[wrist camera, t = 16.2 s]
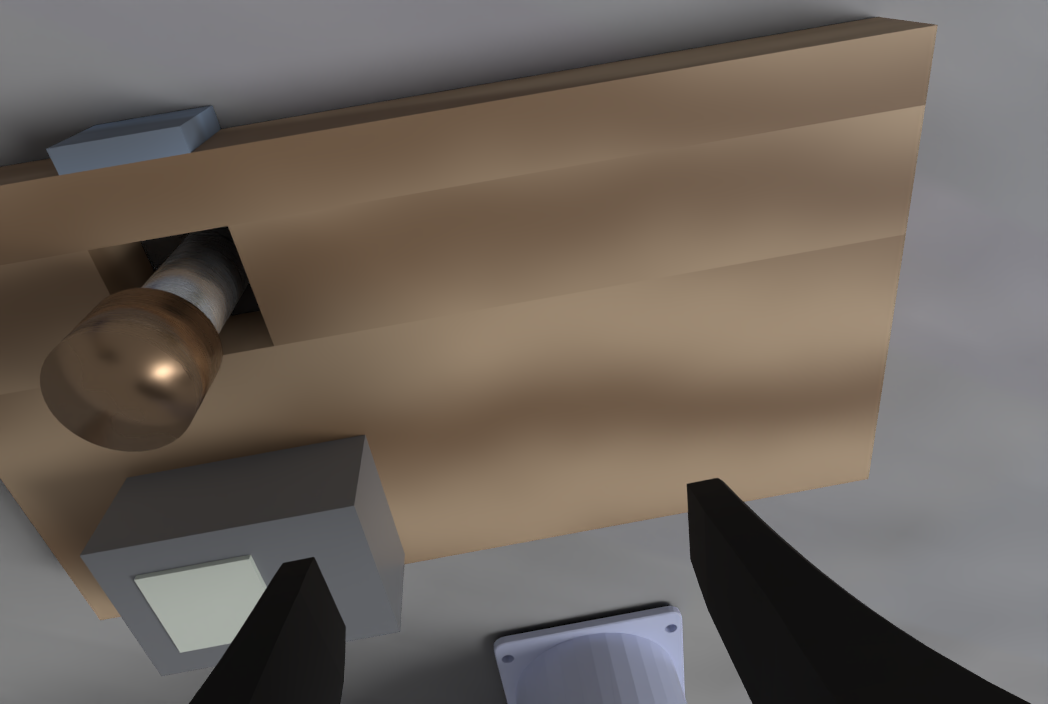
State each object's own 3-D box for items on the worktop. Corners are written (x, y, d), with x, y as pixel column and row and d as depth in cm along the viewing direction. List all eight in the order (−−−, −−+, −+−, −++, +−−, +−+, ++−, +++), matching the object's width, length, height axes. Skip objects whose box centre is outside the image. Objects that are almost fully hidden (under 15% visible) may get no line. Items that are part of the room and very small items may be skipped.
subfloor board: (830, 446, 25) (866, 492, 23) (137, 573, 25) (108, 631, 23) (881, -9, 18) (941, -4, 16) (-122, 162, 17) (-202, 191, 15)
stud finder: (405, 554, 22) (400, 636, 20) (193, 593, 22) (159, 680, 20) (365, 434, 20) (353, 510, 17) (126, 477, 20) (77, 560, 17)
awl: (283, 294, 20) (217, 438, 14) (189, 311, 20) (82, 462, 14) (250, 203, 19) (160, 320, 13) (149, 221, 19) (10, 346, 13)
